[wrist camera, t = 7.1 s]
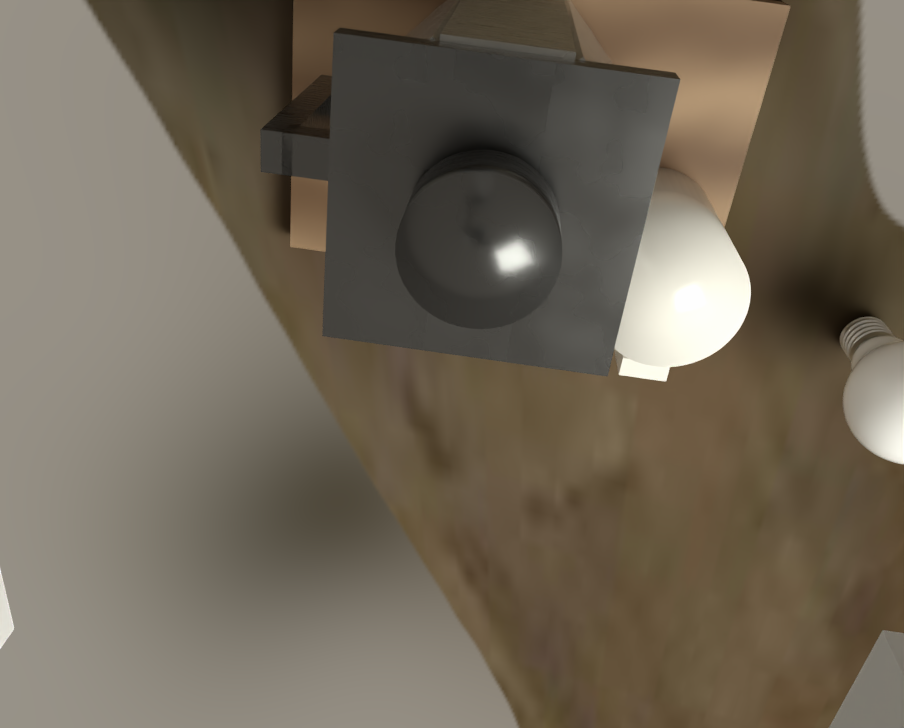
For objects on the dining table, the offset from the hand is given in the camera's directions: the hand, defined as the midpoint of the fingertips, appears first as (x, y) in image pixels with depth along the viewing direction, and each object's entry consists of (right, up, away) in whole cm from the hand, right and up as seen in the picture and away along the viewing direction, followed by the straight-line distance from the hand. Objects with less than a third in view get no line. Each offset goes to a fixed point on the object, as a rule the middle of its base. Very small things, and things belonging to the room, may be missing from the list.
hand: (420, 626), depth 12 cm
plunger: (+3, +16, +28) cm, 32 cm away
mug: (+11, +11, +33) cm, 37 cm away
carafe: (+2, +18, +30) cm, 35 cm away
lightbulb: (+25, +6, +37) cm, 45 cm away
